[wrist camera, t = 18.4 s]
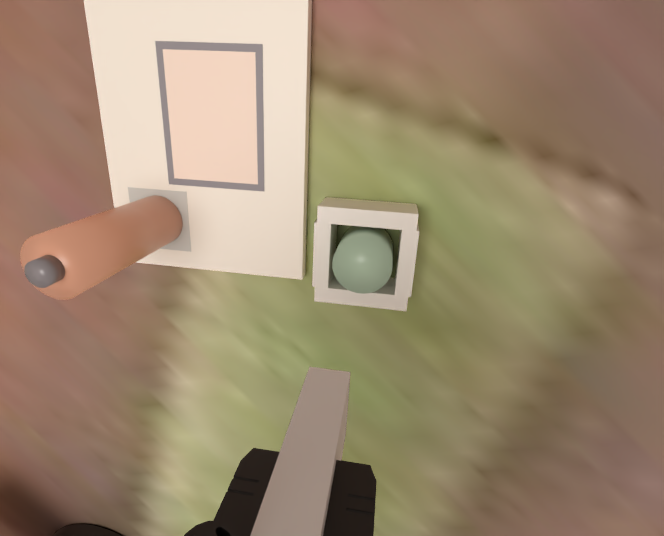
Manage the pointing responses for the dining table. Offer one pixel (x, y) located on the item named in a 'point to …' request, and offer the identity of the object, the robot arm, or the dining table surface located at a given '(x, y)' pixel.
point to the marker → (98, 246)
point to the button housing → (365, 216)
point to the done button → (363, 259)
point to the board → (210, 124)
